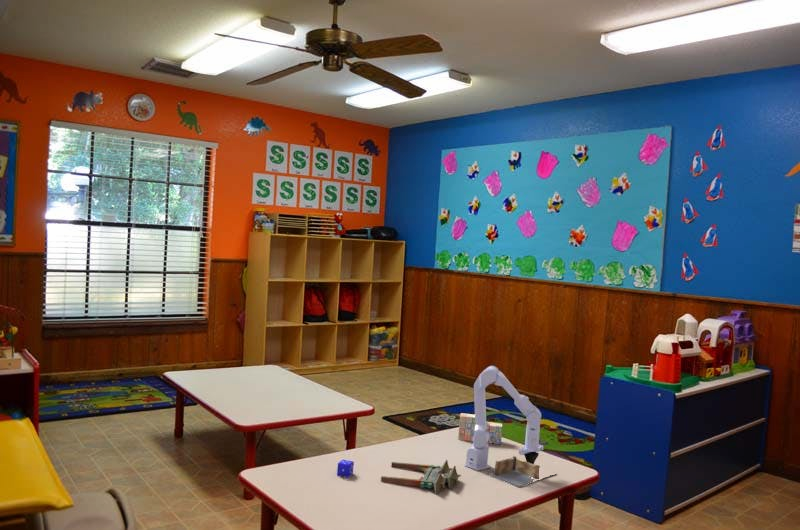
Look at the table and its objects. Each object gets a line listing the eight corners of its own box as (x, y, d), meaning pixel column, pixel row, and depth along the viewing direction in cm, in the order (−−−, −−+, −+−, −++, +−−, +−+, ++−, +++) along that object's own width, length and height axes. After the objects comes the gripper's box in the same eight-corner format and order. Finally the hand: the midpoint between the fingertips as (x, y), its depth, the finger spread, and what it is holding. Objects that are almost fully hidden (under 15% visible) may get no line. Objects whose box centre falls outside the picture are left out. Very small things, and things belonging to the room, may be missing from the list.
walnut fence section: (496, 475, 255) (498, 462, 255) (493, 474, 257) (495, 461, 257) (516, 469, 265) (517, 457, 265) (513, 468, 266) (514, 456, 266)
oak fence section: (514, 470, 263) (515, 458, 263) (517, 469, 265) (518, 457, 264) (537, 479, 255) (538, 466, 255) (539, 478, 256) (540, 466, 256)
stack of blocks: (500, 441, 307) (502, 417, 307) (500, 445, 301) (503, 420, 300) (458, 436, 310) (460, 412, 310) (457, 439, 304) (459, 415, 304)
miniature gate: (394, 455, 263) (463, 461, 256) (394, 467, 263) (463, 474, 256) (378, 476, 236) (455, 483, 230) (378, 490, 237) (454, 498, 230)
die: (336, 475, 243) (337, 463, 243) (341, 471, 248) (342, 459, 248) (348, 477, 242) (349, 465, 241) (353, 473, 246) (354, 461, 246)
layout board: (519, 487, 246) (519, 486, 246) (487, 474, 257) (488, 473, 257) (556, 474, 265) (556, 472, 265) (526, 463, 277) (526, 461, 277)
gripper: (529, 442, 253) (526, 474, 253) (550, 437, 262) (547, 468, 263) (515, 437, 258) (513, 469, 258) (536, 433, 268) (534, 463, 268)
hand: (529, 468), depth 261 cm, fingers closed
